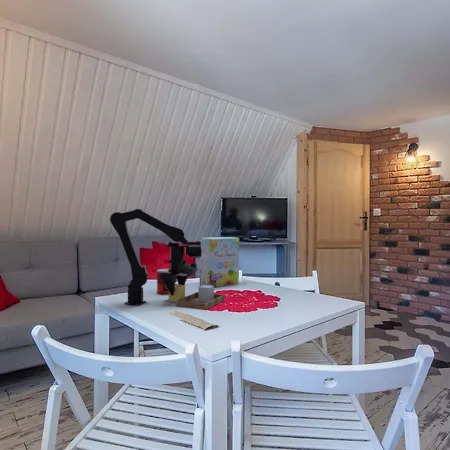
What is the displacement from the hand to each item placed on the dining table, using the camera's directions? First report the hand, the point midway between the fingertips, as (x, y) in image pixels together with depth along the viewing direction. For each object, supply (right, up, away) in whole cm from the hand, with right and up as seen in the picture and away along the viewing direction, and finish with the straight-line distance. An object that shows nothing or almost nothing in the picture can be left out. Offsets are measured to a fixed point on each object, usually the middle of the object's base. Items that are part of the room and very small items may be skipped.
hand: (177, 293), depth 151 cm
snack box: (+18, -3, +39) cm, 43 cm away
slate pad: (0, -4, 0) cm, 4 cm away
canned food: (-8, -3, +18) cm, 20 cm away
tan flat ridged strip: (+9, -5, -28) cm, 29 cm away
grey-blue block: (+13, -3, 0) cm, 13 cm away
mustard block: (0, -3, 0) cm, 3 cm away
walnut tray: (+11, -4, -4) cm, 12 cm away
